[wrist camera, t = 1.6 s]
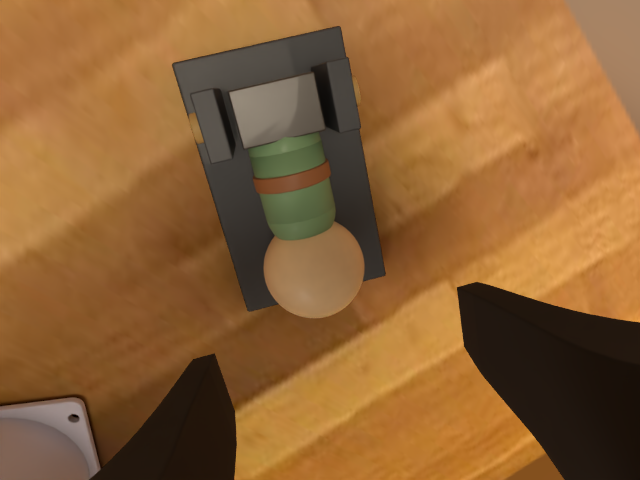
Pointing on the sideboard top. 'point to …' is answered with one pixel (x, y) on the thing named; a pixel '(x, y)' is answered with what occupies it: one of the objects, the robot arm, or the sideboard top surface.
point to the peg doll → (297, 197)
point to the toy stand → (234, 162)
